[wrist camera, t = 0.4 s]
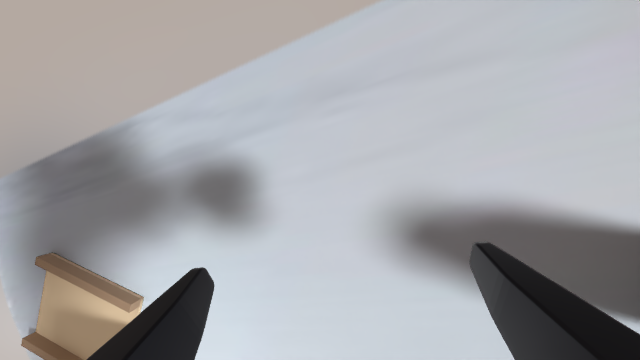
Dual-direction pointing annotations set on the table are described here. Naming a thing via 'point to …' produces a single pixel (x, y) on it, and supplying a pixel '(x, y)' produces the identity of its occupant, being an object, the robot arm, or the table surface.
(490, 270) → the robot arm
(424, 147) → the table surface
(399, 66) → the table surface
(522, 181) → the table surface
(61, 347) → the wooden tray
